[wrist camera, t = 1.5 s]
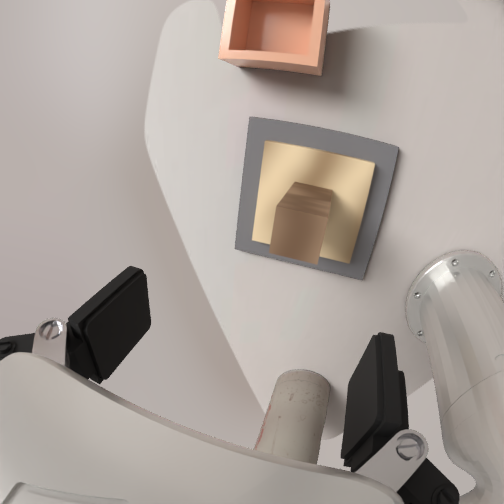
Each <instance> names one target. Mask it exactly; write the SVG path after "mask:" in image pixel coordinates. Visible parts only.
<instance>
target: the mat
mask: <svg viewBox="0 0 504 504" xmlns="http://www.w3.org/2000/svg"><path fill="white" fill-rule="evenodd" d="M266 140H271V141H277V142H283V143H288V144H294V145H299V146H305V147H310V148H315V149H320V150H324V151H329V152H334V153H338V154H342V155H347V156H351V157H355V158H359V159H363V160H367V161H371V162H374V163H375V167H374V171H373V176H372V180H371V185H370V189H369V193H368V197H367V201H366V205H365V209H364V213H363V217H362V221H361V225H360V228H359V232H358V236H357V239H356V243H355V246H354V250H353V253H352V257H351V260H350V263H345V262H341V261H336V260H332V259H328V258H324V257H320V256H319V260H318V264H317V265H316V264H312V263H308V262H304V261H300V260H296V259H292V258H288V257H284V256H279V255H275V254H271V253H269V248H270V244H266V243H262V242H258V241H253V240H252V235H253V227H254V220H255V212H256V205H257V197H258V189H259V182H260V174H261V166H262V159H263V151H264V144H265V141H266ZM398 149H399V147H397V146H394V145H391V144H387V143H384V142H380V141H376V140H372V139H368V138H364V137H360V136H356V135H352V134H348V133H343V132H339V131H334V130H330V129H325V128H320V127H315V126H309V125H304V124H298V123H292V122H286V121H280V120H273V119H266V118H258V117H249V125H248V133H247V142H246V150H245V159H244V168H243V176H242V185H241V194H240V203H239V213H238V222H237V231H236V241H235V249H237V250H241V251H245V252H249V253H253V254H257V255H261V256H265V257H269V258H273V259H277V260H281V261H285V262H290V263H294V264H298V265H302V266H306V267H310V268H314V269H318V270H322V271H326V272H330V273H334V274H338V275H343V276H347V277H351V278H355V279H359V280H362V279H363V277H364V274H365V271H366V268H367V265H368V262H369V259H370V255H371V252H372V249H373V246H374V243H375V239H376V236H377V233H378V229H379V226H380V222H381V219H382V215H383V212H384V208H385V204H386V200H387V196H388V193H389V189H390V184H391V180H392V176H393V172H394V167H395V163H396V158H397V154H398Z"/></svg>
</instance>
